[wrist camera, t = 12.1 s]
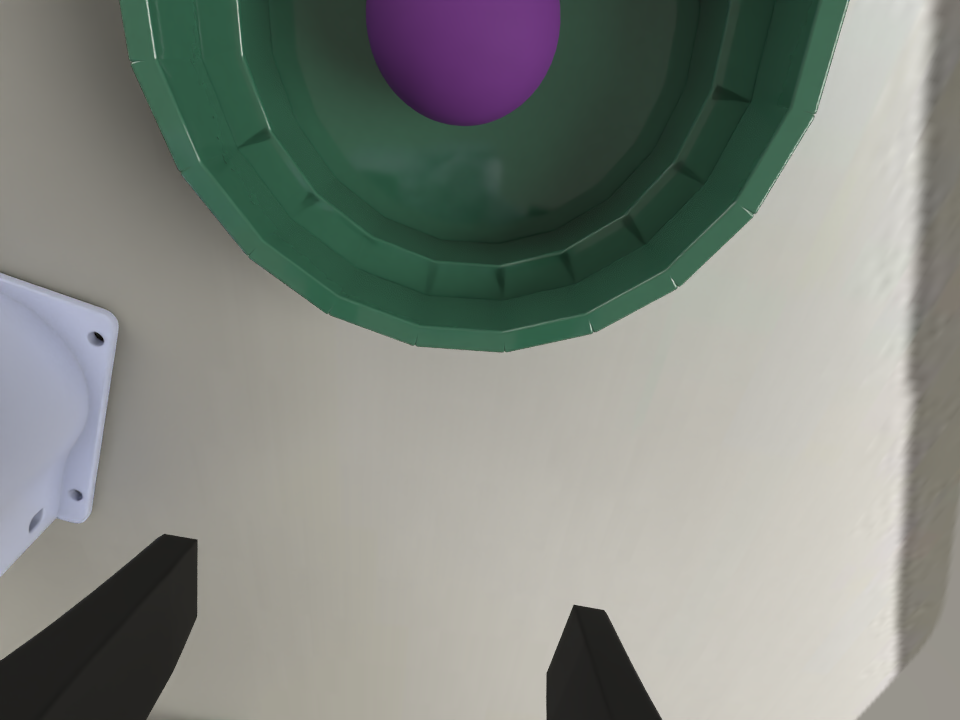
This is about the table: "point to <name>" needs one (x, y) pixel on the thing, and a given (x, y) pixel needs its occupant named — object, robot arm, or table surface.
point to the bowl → (484, 157)
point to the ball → (463, 54)
